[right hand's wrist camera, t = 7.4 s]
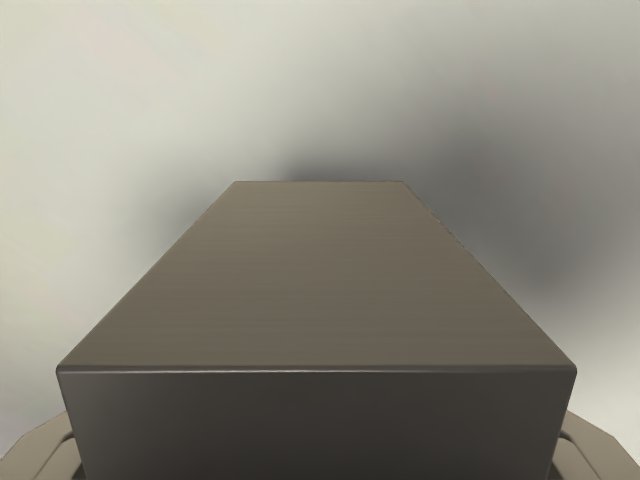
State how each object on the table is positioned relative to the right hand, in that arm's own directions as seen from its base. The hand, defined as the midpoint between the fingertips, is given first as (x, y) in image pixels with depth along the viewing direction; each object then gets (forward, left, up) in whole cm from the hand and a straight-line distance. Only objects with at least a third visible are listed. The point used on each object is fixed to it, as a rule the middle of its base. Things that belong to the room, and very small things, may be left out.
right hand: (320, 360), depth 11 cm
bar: (+4, +7, -4) cm, 9 cm away
